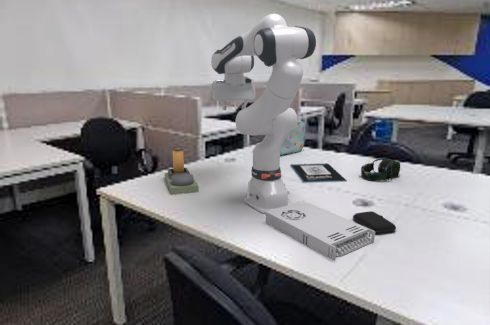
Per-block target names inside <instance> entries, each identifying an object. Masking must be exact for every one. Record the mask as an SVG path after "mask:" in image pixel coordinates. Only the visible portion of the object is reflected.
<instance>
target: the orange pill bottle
mask: <svg viewBox="0 0 490 325" xmlns="http://www.w3.org/2000/svg"><path fill="white" fill-rule="evenodd" d="M171 151H172V167H173V168H172V169H173V172H174V173H184V168H185V165H184V163H185V161H184V146H182V145H176V146H172V147H171Z"/></svg>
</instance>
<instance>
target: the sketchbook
mask: <svg viewBox="0 0 490 325" xmlns="http://www.w3.org/2000/svg"><path fill="white" fill-rule="evenodd" d="M290 168H291V169H292V170H293V172H294V173H295V174H296V175H297V177H298V178H299V179H300V181H301V182H302V183H303V184H315V183H321V184H322V183H347V182H348V180H347V179H346V178H345V177H344V176H343V175H342V174H341V173H339V172H338V171H337V170H336V169H335V168H334V167H332V165H330V163H328V162H321V163H320V162H318V163H317V162H316V163H305V162H304V163H291V164H290Z"/></svg>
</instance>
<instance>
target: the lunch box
mask: <svg viewBox="0 0 490 325" xmlns="http://www.w3.org/2000/svg"><path fill="white" fill-rule="evenodd" d="M306 128H307V127H306V123H305V122H304V121H302V120H299V119H298V121H297V125H296V127H295V129H294V130H293V131H292V132H290V133H289V134H288V136H287V137H286V139H285V140H284V142H283V144H282V147H281V152H280V156H284V155H292V154H294V153H299V152H301V151H302V150H303V148H304V147H305V141H306V131H307V130H306Z"/></svg>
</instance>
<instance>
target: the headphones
mask: <svg viewBox="0 0 490 325" xmlns="http://www.w3.org/2000/svg"><path fill="white" fill-rule="evenodd" d="M378 161H380V162H379V164H378V166H377V172H376V171H375V168H374V166H375V162H378ZM400 172H401V163H400V161H398V160H395V159H391V158H388V157H381V158H376V159H375V160H373V161H372V162H371V163H370V162H368V163H365V164H363V165H362V166H361V167H360V174H361V177H362V179H364V180H367V181H372V182H376V181H377V182H378V181H381V182H382V181H389V180H392V179H395V178H396V177H397V178H398V177H399V175H400Z"/></svg>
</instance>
